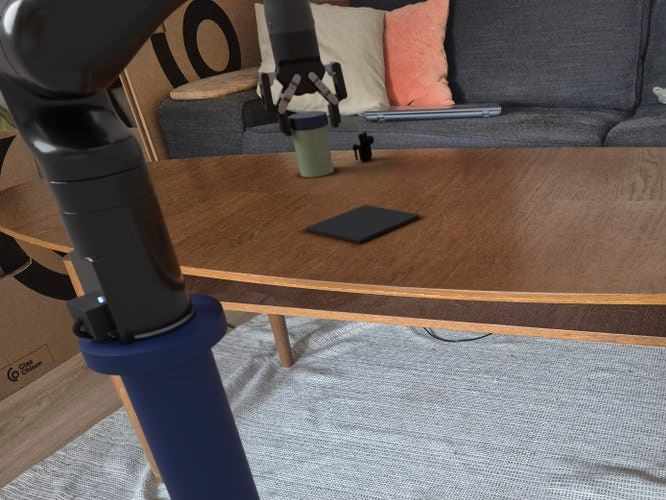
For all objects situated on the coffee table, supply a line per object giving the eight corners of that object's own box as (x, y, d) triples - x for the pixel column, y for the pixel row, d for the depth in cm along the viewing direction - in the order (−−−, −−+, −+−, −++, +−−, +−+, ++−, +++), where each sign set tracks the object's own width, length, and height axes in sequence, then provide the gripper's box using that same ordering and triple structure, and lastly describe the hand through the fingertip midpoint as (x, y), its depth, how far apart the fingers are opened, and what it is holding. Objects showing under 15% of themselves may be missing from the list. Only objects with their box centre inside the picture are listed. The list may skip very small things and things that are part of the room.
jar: (317, 178, 117) (305, 121, 112) (293, 176, 120) (281, 120, 115) (341, 169, 121) (330, 114, 116) (317, 167, 124) (306, 113, 119)
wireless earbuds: (371, 155, 129) (367, 128, 126) (383, 155, 128) (379, 128, 125) (353, 165, 123) (348, 137, 121) (365, 165, 122) (360, 136, 120)
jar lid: (320, 120, 120) (318, 109, 119) (333, 124, 115) (331, 113, 114) (285, 127, 117) (282, 115, 116) (297, 131, 112) (294, 120, 112)
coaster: (360, 243, 85) (359, 239, 85) (306, 231, 92) (305, 227, 91) (419, 218, 92) (418, 214, 92) (365, 208, 99) (364, 204, 98)
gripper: (325, 23, 115) (342, 122, 123) (242, 33, 109) (266, 136, 117) (340, 23, 109) (358, 127, 117) (253, 33, 103) (278, 142, 111)
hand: (312, 131), depth 117 cm, fingers open, 8 cm apart
